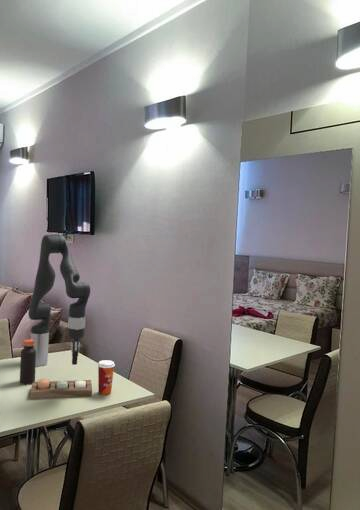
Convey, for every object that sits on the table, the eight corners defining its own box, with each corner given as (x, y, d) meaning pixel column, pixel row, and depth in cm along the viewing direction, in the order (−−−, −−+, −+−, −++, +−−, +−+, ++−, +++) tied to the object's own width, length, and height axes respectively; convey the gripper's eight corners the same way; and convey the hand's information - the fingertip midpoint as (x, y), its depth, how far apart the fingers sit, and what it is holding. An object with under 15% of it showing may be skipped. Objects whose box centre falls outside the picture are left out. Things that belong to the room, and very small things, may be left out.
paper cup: (107, 397, 181) (109, 366, 180) (92, 393, 184) (94, 363, 183) (116, 391, 188) (118, 361, 188) (102, 387, 191) (103, 358, 190)
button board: (32, 388, 185) (32, 381, 185) (90, 386, 192) (91, 380, 192) (29, 399, 174) (30, 392, 174) (91, 396, 181) (92, 389, 180)
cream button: (74, 389, 187) (75, 380, 187) (85, 388, 188) (85, 380, 188) (74, 393, 182) (75, 384, 182) (85, 392, 183) (86, 384, 183)
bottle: (16, 382, 191) (18, 340, 190) (27, 378, 197) (29, 337, 196) (26, 385, 188) (28, 343, 187) (38, 381, 194) (39, 340, 193)
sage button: (56, 389, 185) (56, 381, 184) (67, 389, 186) (67, 380, 186) (56, 394, 180) (56, 385, 180) (67, 393, 181) (67, 384, 181)
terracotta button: (37, 387, 183) (38, 379, 182) (49, 387, 184) (49, 378, 184) (37, 392, 178) (37, 383, 178) (48, 391, 179) (49, 382, 179)
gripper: (67, 322, 188) (65, 359, 189) (67, 330, 176) (65, 369, 177) (84, 323, 190) (82, 359, 191) (85, 330, 178) (83, 368, 179)
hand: (74, 364), depth 184 cm, fingers closed
